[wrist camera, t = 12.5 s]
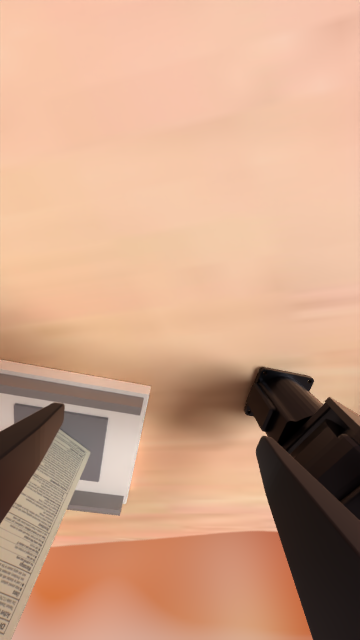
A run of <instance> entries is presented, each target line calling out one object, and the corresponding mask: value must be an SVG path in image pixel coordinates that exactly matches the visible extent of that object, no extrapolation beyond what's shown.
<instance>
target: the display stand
mask: <svg viewBox="0 0 360 640" xmlns="http://www.w3.org/2000/svg"><path fill="white" fill-rule="evenodd" d="M150 389H151V386H148V385H142V384H136V383H131V382H125V381H119V380H114V379H108V378H102V377H97V376H91V375H85V374H80V373H74V372H68V371H63V370H57V369H52V368H46V367H40V366H35V365H29V364H23V363H18V362H12V361H6V360H1V359H0V431H2V430H4V429H6V428H7V427H9V426H11V425H13V424H15V423H17V422H18V421H20V420H22V419H24V418H26V417H28V416H29V415H31V414H33V413H35V412H37V411H39V410H40V409H42V408H44V407H46V406H48V405H50V404H51V403H54V402H57V403H63V404H64V405H65V410H64V421H63V423H62V426H61V427H60V430H62V431H63V432H64V433H66V434H67V435H68V436H70V437H71V438H72V439H74V440H75V441H77V442H78V443H79V444H81V445H82V446H83V447H85V448H86V449H87V450H89V451H90V456H89V458H88V460H87V463H86V465H85V467H84V470H83V472H82V474H81V477H80V479H79V481H78V484H77V486H76V489H75V491H74V493H73V495H72V498H71V500H70V502H69V505H68V507H67V510H76V511H84V512H93V513H102V514H111V515H119V516H120V512H121V508H122V504H126V502H127V498H128V493H129V488H130V483H131V479H132V474H133V469H134V465H135V460H136V455H137V451H138V446H139V441H140V436H141V432H142V427H143V422H144V418H145V413H146V408H147V404H148V399H149V394H150Z"/></svg>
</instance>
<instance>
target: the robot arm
mask: <svg viewBox="0 0 360 640" xmlns="http://www.w3.org/2000/svg"><path fill="white" fill-rule="evenodd" d="M264 371H266V372H265V373H263V372H264ZM308 380H309V381H308ZM313 383H314V380H313V378H311V377H310V376H306V375H301V374H296V373H291V372H286V371H281V370H276V369H270V368H265V367H263V368H261V369H260V370H259V373H258V375H257V378H256V380H255V383H254V384H253V386H252V389H251V391H250V394H249V396H248V399H247V403H246V406H245V408H244V412H245V414H246V415H249V416H254V417H255V419H256V421H257V423H258V424H259V426H260V428H261V430H262V431H264V432H266V434H267V436H268V437H267V436H262V437H261V439H260V441H259V443H258V446H257V448H256V456H257V460H258V464H259V468H260V472H261V477H262V481H263V485H264V489H265V493H266V496H267V499H268V503H269V506H270V509H271V512H272V515H273V518H274V521H275V524H276V527H277V530H278V533H279V536H280V540H281V543H282V545H283V549H284V552H285V555H286V558H287V561H288V564H289V567H290V570H291V573H292V576H293V580H294V583H295V586H296V589H297V592H298V595H299V598H300V601H301V604H302V607H303V610H304V613H305V616H306V619H307V622H308V625H309V628H310V632H311V635H312V638H313V640H360V415H358V414H356V413H355V412H353V411H352V410H350V409H348V408H347V407H345V406H343V405H342V404H340V403H339V402H337V401H335V400H334V399H332V398H330V397H329V398H328V399H327V400H326V401H325V402H326V403H325V404H324V405H323V404H322V403H321V402H320V401H319V400H318V399H317V398H316V397H314V396H313V395H312V394H311V393H310V392H309V391H310V389H311V387H312V385H313ZM64 410H65V405H64V404H63V403H57V402H54V403H51V404H50V405H48V406H46V407H44V408H42V409H40V410H39V411H37V412H35V413H33V414H31V415H29V416H28V417H26V418H24V419H22V420H20V421H18V422H17V423H15V424H13V425H11V426H9V427H7V428H6V429H4V430H2V431H0V524H1V522H2V521H3V519H4V518H5V516H6V515H7V513H8V512H9V510H10V509H11V507H12V506H13V504H14V503H15V501H16V500H17V498H18V497H19V495H20V494H21V492H22V491H23V489H24V488H25V486H26V485H27V483H28V482H29V480H30V479H31V477H32V476H33V474H34V473H35V471H36V470H37V468H38V467H39V465H40V463H41V462H42V460H43V458H44V456H45V455H46V453H47V451H48V449H49V447H50V446H51V444H52V442H53V440H54V438H55V436H56V435H57V433H58V431H59V429H60V427H61V426H62V423H63V421H64ZM249 410H250V411H249Z"/></svg>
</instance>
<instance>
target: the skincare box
mask: <svg viewBox="0 0 360 640" xmlns="http://www.w3.org/2000/svg"><path fill="white" fill-rule="evenodd" d="M89 456H90V451H89V450H87V449H86V448H85V447H83V446H82V445H81V444H79V443H78V442H77V441H75V440H74V439H72V438H71V437H70V436H68V435H67V434H66V433H64V432H63V431H62V430H60V429H59V431H58V433H57V435H56V436H55V438H54V440H53V442H52V444H51V446H50V447H49V449H48V451H47V453H46V455H45V456H44V458H43V460H42V462H41V463H40V465H39V467H38V468H37V470H36V471H35V473H34V474H33V476H32V477H31V479H30V480H29V482H28V483H27V485H26V486H25V488H24V489H23V491H22V492H21V494H20V495H19V497H18V498H17V500H16V501H15V503H14V504H13V506H12V507H11V509H10V510H9V512H8V513H7V515H6V516H5V518H4V519H3V521H2V522H1V524H0V640H11V639H12V636H13V634H14V631H15V629H16V627H17V624H18V622H19V619H20V617H21V615H22V613H23V610H24V608H25V606H26V603H27V601H28V598H29V596H30V594H31V591H32V589H33V587H34V584H35V582H36V580H37V577H38V575H39V573H40V570H41V568H42V566H43V563H44V561H45V559H46V556H47V554H48V552H49V549H50V547H51V545H52V542H53V540H54V538H55V535H56V533H57V531H58V528H59V526H60V524H61V521H62V519H63V517H64V514H65V512H66V510H67V507H68V505H69V502H70V500H71V498H72V495H73V493H74V491H75V489H76V486H77V484H78V481H79V479H80V477H81V474H82V472H83V470H84V467H85V465H86V463H87V460H88V458H89Z"/></svg>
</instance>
